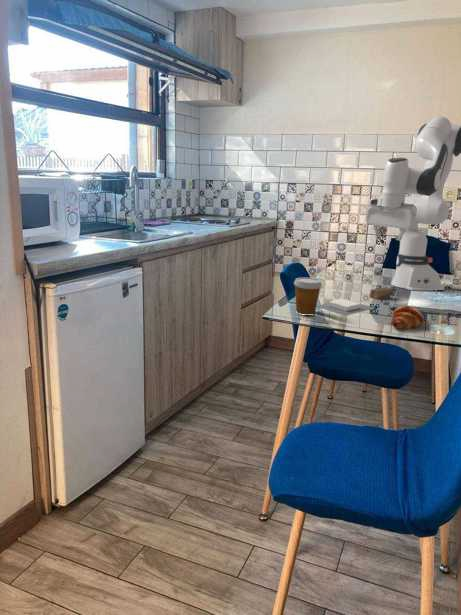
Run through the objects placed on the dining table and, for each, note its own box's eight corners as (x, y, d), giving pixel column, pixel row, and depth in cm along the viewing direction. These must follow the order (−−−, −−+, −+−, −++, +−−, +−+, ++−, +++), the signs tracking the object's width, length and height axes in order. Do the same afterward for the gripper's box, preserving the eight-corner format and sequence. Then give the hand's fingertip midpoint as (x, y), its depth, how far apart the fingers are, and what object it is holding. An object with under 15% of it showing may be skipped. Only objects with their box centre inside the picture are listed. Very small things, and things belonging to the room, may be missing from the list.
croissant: (408, 325, 182) (400, 304, 182) (435, 318, 175) (427, 296, 176) (386, 338, 165) (377, 315, 166) (415, 330, 159) (406, 306, 159)
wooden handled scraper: (394, 299, 204) (396, 289, 203) (368, 305, 193) (370, 295, 192) (379, 295, 209) (380, 286, 208) (353, 301, 198) (354, 291, 197)
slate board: (344, 301, 196) (345, 299, 196) (375, 310, 186) (376, 308, 186) (314, 308, 185) (314, 306, 185) (345, 317, 175) (345, 315, 175)
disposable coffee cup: (322, 317, 174) (326, 283, 171) (296, 317, 173) (298, 283, 169) (313, 309, 183) (316, 277, 180) (288, 309, 182) (290, 277, 179)
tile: (342, 298, 190) (329, 301, 185) (360, 303, 184) (346, 306, 179) (342, 303, 190) (328, 306, 185) (360, 308, 185) (346, 311, 180)
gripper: (421, 204, 187) (416, 241, 191) (374, 200, 202) (370, 234, 206) (412, 204, 183) (407, 242, 187) (365, 200, 198) (361, 235, 202)
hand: (387, 238), depth 197 cm, fingers open, 8 cm apart
